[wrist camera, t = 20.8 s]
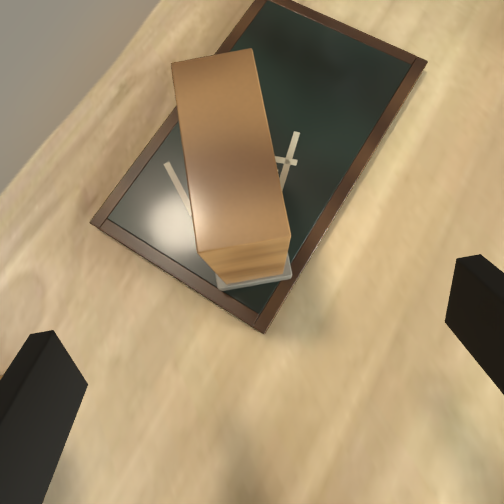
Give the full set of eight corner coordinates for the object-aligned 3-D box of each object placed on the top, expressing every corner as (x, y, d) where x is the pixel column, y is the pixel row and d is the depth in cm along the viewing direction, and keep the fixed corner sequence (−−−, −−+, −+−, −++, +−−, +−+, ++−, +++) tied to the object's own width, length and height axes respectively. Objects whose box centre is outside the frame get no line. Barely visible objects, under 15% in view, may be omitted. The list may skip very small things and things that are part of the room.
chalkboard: (264, -2, 32) (263, -13, 31) (423, 69, 29) (428, 60, 28) (95, 226, 28) (88, 222, 27) (264, 334, 25) (264, 334, 24)
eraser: (201, 167, 27) (157, 61, 17) (266, 155, 27) (263, 41, 16) (220, 291, 25) (183, 260, 14) (291, 279, 25) (307, 238, 14)
